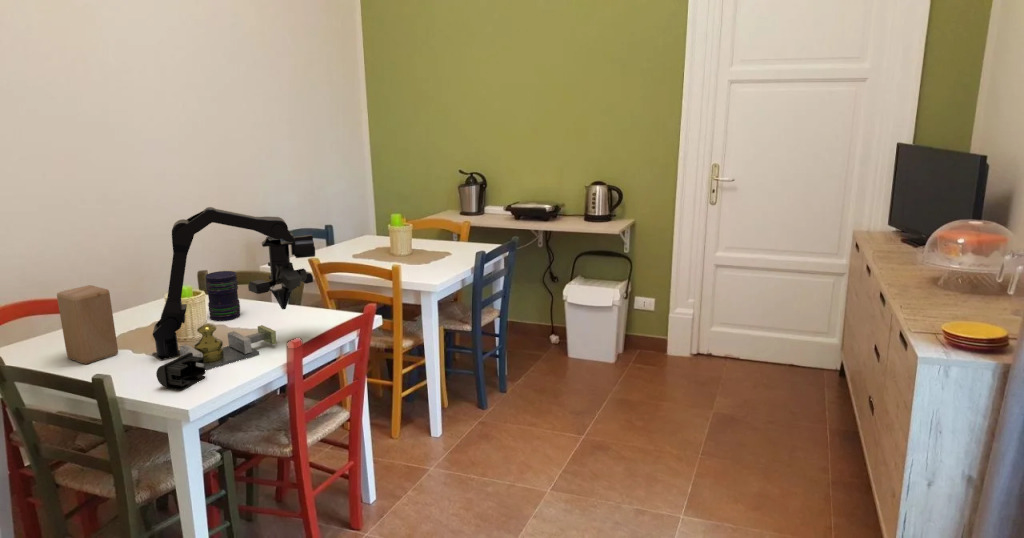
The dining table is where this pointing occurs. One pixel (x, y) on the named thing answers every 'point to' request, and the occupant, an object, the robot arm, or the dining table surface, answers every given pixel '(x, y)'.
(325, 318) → the dining table surface
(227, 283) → the storage jar
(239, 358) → the vise bed
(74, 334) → the wooden block
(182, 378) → the end cap
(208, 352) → the olive finial
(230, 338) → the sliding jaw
